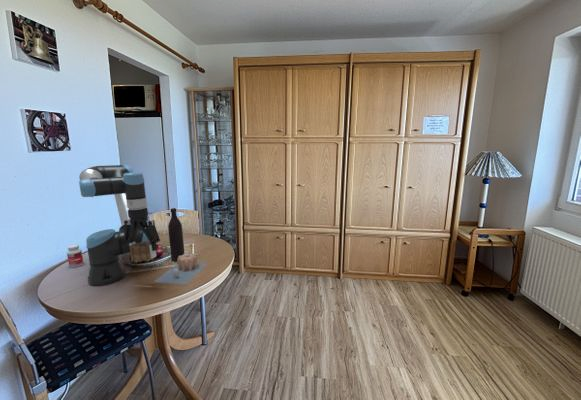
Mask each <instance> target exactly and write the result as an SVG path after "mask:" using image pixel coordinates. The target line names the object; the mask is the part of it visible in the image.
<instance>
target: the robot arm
mask: <svg viewBox="0 0 581 400" xmlns="http://www.w3.org/2000/svg"><path fill="white" fill-rule="evenodd" d="M78 180H79V181H78V185H79V189H80V190H79V192H80V195H81V197H82V198H94V197H102V196H110V195H113V196H114V199H115V203H116V204H115V205H116V206H117V211H118V216H119V221H120V224H121V225H120V226H119V228H118V230H117V231H116V230H115V229H114V228H110V229H103V230H99V231H96V232H93V233H91V234H89V235H88V236H87V238H86V249H87V254H88V260H89V272H88V276H87V284H88V285H89V286H94V287H97V286H98V287H99V286H106V285H109V284H110V285H111V284H113V283H116V282H118V281H120V280H121V279H123V278H124V277H125V276H126V270H125V268H124V267H123V263H121V261H120V256H122V255H126V254H131V253H130V245H134V244H136V243H141V242H145V241H147V242H150V243H151V244H149V248H150V256H151V259H150V260H152V259H154V258H156V257H157V249H158V247H157V243H159V242H160V241H161V239H160V236H159V234H158V230H157V227H156V223H155V220H154V219H153V220H149V218H148V216H149V210H148V203H147V195H146V187H145V186H146V185H145V179H144V174H143V173H142V172H138V171H137V172H135V171H134V169H133V168H132V167H131V166H130V165H129V164H116V165H115V164H113V165H109V164H108V165H95V166H90V167H88V168H86V169H84V170H82V171H81V172H80V173H79V179H78Z"/></svg>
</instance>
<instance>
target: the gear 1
mask: <svg viewBox="0 0 581 400" xmlns="http://www.w3.org/2000/svg"><path fill="white" fill-rule="evenodd" d="M149 244H151V243H150V242H147V241H145V242H141V243H136V244H134V245H130V253H129V254H130V259H131V262H138V263H140V262H143V261H149V260H152V259H151V256H150V248H149Z"/></svg>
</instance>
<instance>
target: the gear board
mask: <svg viewBox="0 0 581 400" xmlns="http://www.w3.org/2000/svg"><path fill="white" fill-rule="evenodd" d="M197 263H198V262H197ZM206 266H207V263H198V265H197V268H194V269H192V270H191V271H190V270H185V271H182V270H178V263H176V264H174V266H173V267H171V268H169V269H168V270H167V271H166V272H165V273H163V274H162V275H161V276H159V277H158V278H156V279H155V280H154V281H153V283H156V284H157V283H159V284H170V285H172V284H173V285H186V284H188V282H189V281H191V280H192V279H193V278H194V277H195V276H196V275H197V274H199V272H200V271H201V270H202V269H203V268H204V267H206Z"/></svg>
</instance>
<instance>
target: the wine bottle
mask: <svg viewBox="0 0 581 400" xmlns="http://www.w3.org/2000/svg"><path fill="white" fill-rule="evenodd" d="M170 213H171V214H170V215H171V217H170V220H169V223H168V224H167V228H168V231H167V232H168V238H169V240H168V241H169V247H170V249H169V250H170V258H171V259H170V261H171V262H174V263H178V261H177V258H178V256H181V255H184V254H185V244H184V243H185V242H184V235H183V233H184V232H183V225H182V223H181V221H180V219H179V218H178V215H177V208H175V207H173V208H171V209H170Z"/></svg>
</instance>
